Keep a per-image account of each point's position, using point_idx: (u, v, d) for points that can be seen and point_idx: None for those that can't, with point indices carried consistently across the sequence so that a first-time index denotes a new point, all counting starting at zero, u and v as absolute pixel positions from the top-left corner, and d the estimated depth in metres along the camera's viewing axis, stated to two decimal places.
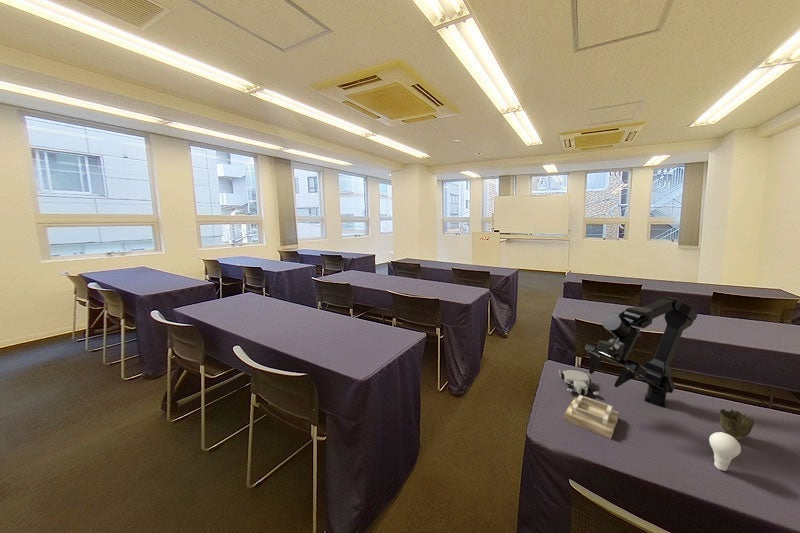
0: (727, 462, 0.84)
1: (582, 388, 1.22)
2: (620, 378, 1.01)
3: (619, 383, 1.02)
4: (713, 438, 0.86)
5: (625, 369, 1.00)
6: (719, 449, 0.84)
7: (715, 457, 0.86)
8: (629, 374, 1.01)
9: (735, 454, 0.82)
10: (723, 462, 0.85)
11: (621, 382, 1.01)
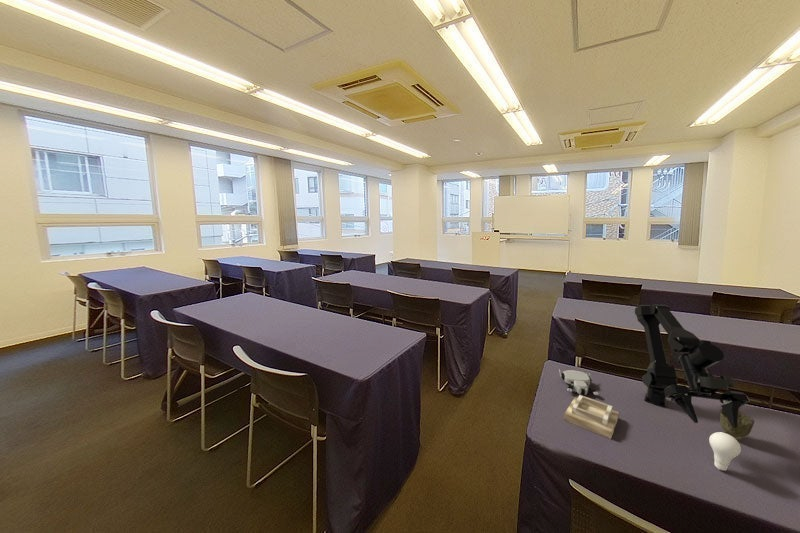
0: (727, 462, 0.84)
1: (582, 388, 1.22)
2: (736, 415, 0.88)
3: None
4: (713, 438, 0.86)
5: (739, 403, 0.89)
6: (719, 449, 0.84)
7: (715, 457, 0.86)
8: None
9: (735, 454, 0.82)
10: (723, 462, 0.85)
11: None
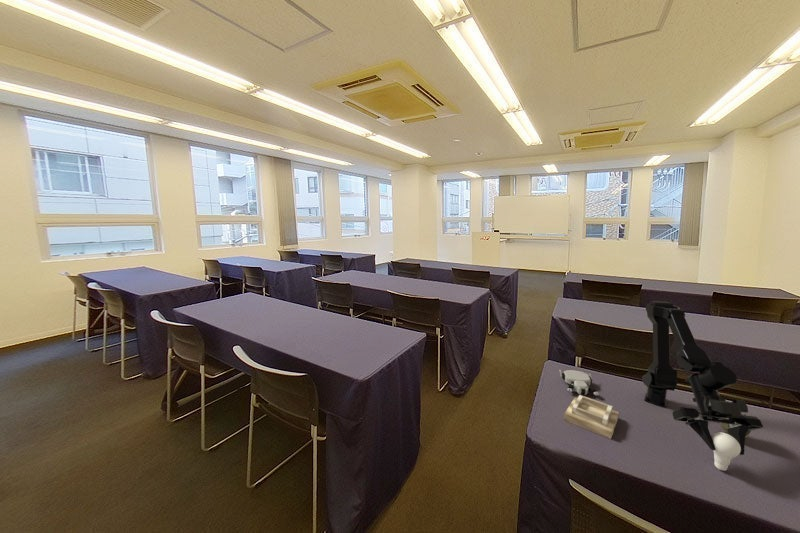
0: (727, 462, 0.84)
1: (582, 388, 1.22)
2: (743, 441, 0.84)
3: None
4: (713, 438, 0.86)
5: (746, 428, 0.84)
6: (719, 449, 0.84)
7: (715, 457, 0.86)
8: None
9: (735, 454, 0.82)
10: (723, 462, 0.85)
11: None
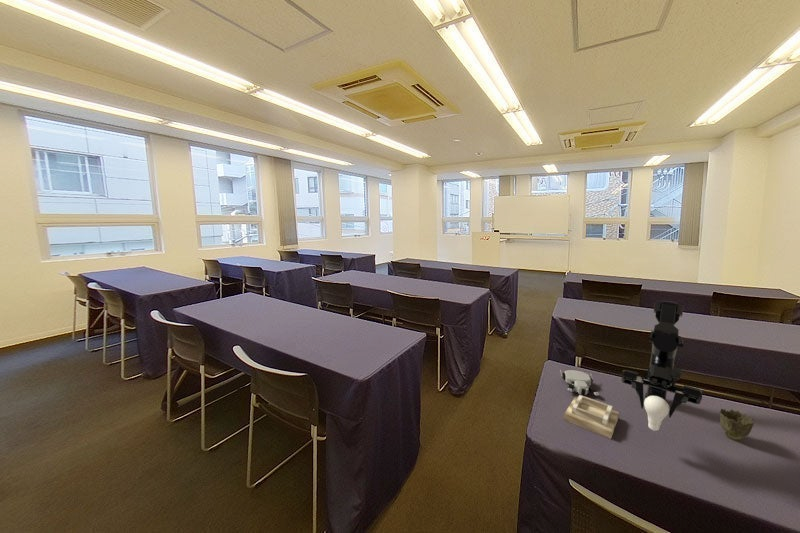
0: (655, 422, 0.91)
1: (583, 388, 1.22)
2: (674, 406, 0.89)
3: (673, 412, 0.89)
4: None
5: (681, 395, 0.89)
6: (645, 407, 0.92)
7: None
8: None
9: (658, 413, 0.89)
10: (651, 421, 0.92)
11: None
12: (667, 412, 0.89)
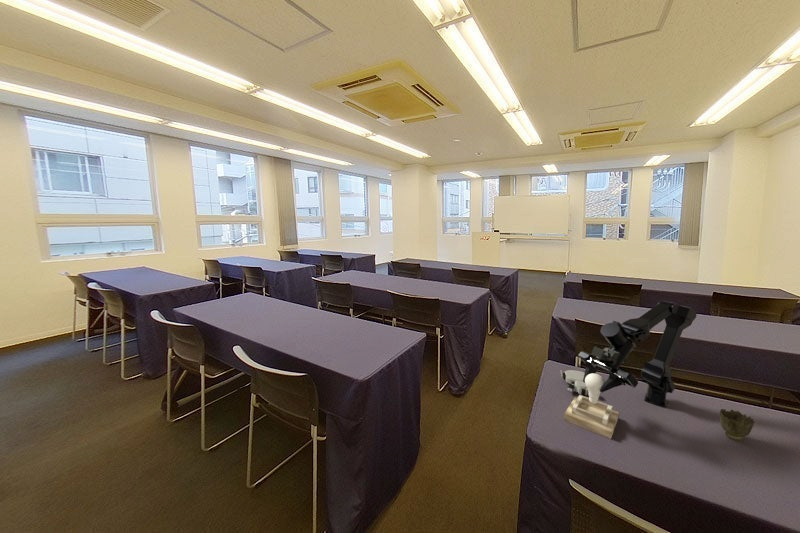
0: (591, 395, 1.06)
1: (583, 388, 1.22)
2: (606, 383, 1.02)
3: (605, 388, 1.02)
4: None
5: (613, 375, 1.01)
6: None
7: None
8: (616, 381, 1.02)
9: (590, 386, 1.05)
10: (589, 394, 1.07)
11: (607, 388, 1.02)
12: (598, 387, 1.03)
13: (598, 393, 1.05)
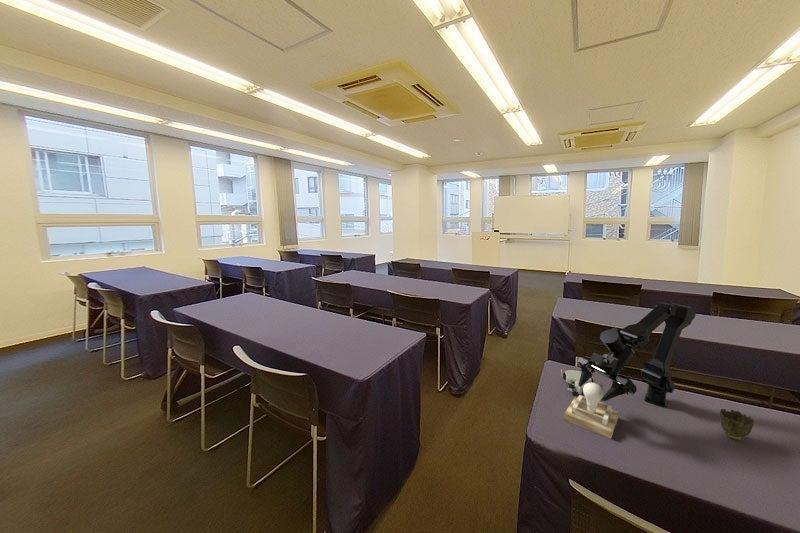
0: (589, 404, 1.07)
1: None
2: (609, 392, 1.01)
3: (608, 397, 1.01)
4: None
5: (616, 383, 1.00)
6: (583, 390, 1.09)
7: None
8: (619, 390, 1.01)
9: (588, 395, 1.06)
10: (587, 403, 1.08)
11: (610, 396, 1.01)
12: (596, 396, 1.04)
13: (596, 402, 1.06)
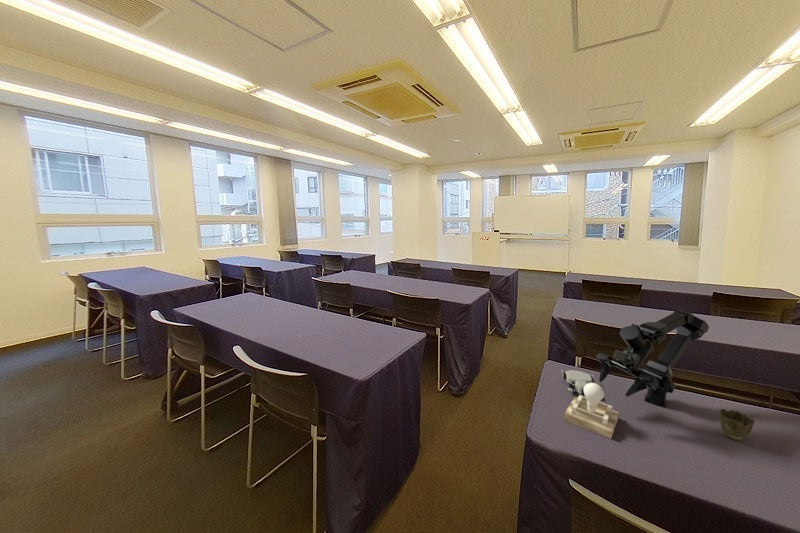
0: (589, 404, 1.07)
1: (583, 388, 1.22)
2: (632, 388, 1.04)
3: (630, 393, 1.04)
4: None
5: (640, 380, 1.02)
6: (583, 390, 1.09)
7: None
8: (641, 385, 1.04)
9: (589, 396, 1.05)
10: (587, 403, 1.08)
11: (632, 392, 1.04)
12: (596, 396, 1.04)
13: (596, 403, 1.06)
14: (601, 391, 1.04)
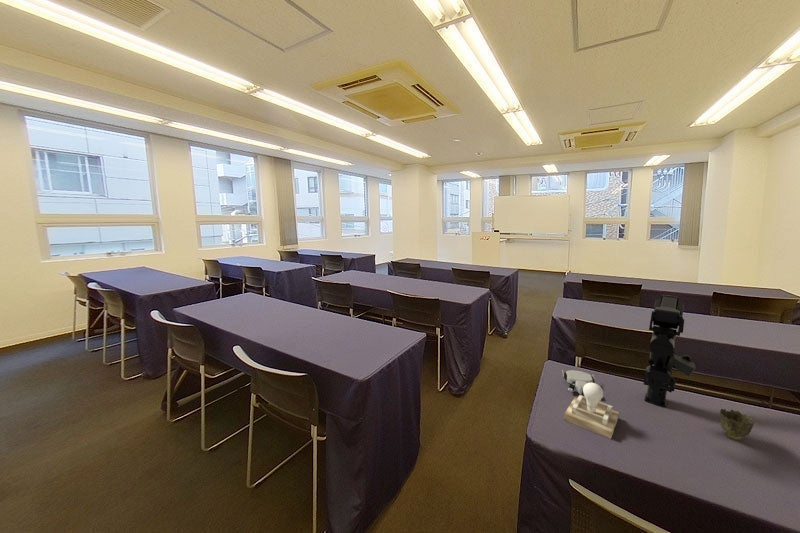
0: (589, 404, 1.07)
1: None
2: None
3: None
4: None
5: None
6: (583, 390, 1.09)
7: None
8: None
9: (588, 395, 1.06)
10: (587, 403, 1.08)
11: None
12: (596, 396, 1.04)
13: (596, 402, 1.06)
14: (600, 391, 1.05)
